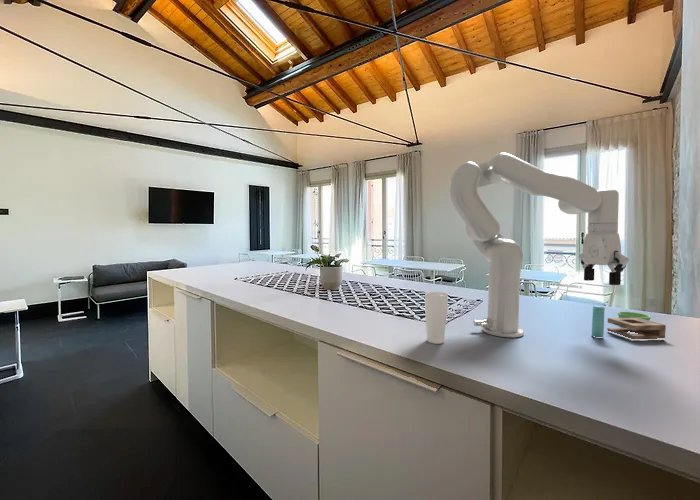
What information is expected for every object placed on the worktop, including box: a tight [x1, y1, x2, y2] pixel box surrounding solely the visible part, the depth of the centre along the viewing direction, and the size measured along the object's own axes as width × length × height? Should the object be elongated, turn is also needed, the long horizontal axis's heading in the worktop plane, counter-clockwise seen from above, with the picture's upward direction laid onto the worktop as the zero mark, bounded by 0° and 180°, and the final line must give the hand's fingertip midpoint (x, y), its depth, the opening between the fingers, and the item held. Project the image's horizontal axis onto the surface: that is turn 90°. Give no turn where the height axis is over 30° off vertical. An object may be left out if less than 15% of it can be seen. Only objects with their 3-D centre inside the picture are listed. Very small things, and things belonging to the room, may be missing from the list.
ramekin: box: [617, 311, 651, 321], centre depth 118 cm, size 9×9×4 cm
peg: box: [591, 305, 606, 338], centre depth 104 cm, size 3×3×10 cm
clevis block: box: [606, 317, 667, 339], centre depth 105 cm, size 11×9×5 cm
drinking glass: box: [424, 291, 449, 345], centre depth 99 cm, size 7×7×15 cm
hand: (601, 282), depth 104 cm, fingers open, 9 cm apart
